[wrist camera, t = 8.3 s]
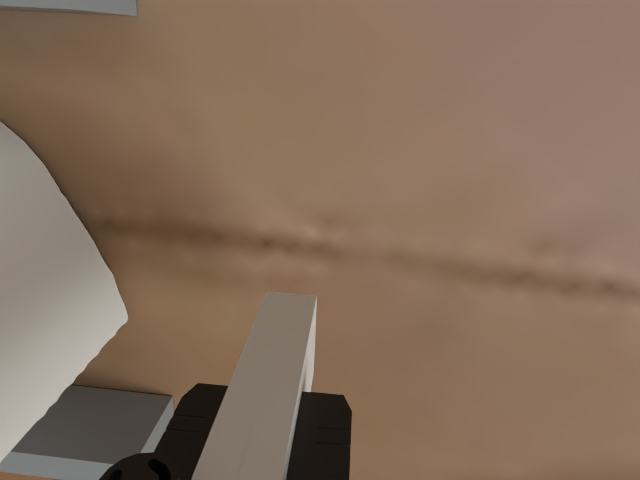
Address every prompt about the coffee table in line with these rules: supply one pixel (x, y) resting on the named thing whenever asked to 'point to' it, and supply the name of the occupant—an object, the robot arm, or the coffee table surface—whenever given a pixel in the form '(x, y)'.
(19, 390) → the toilet tissue
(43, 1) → the grey u-shaped bracket
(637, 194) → the coffee table surface
